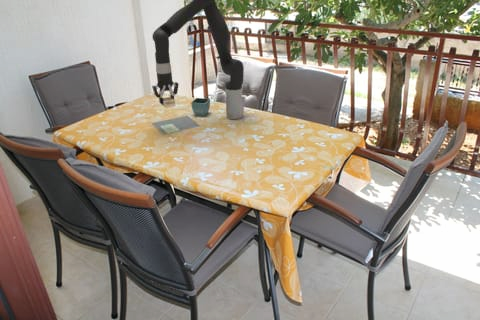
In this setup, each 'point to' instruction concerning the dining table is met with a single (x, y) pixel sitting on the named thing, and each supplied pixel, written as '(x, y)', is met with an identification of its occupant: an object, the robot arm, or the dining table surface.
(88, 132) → the dining table surface
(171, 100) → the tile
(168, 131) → the mat
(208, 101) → the flower pot
